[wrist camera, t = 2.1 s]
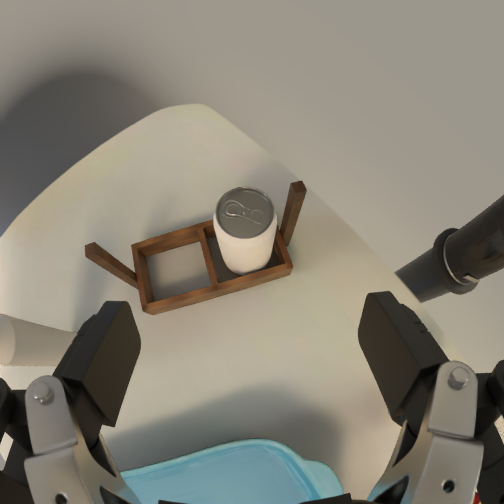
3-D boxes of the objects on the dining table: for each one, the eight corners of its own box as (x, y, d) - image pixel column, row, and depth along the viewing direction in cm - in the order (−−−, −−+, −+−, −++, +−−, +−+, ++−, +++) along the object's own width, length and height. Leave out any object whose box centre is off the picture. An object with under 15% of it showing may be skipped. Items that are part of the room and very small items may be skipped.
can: (232, 225, 39) (225, 176, 27) (276, 239, 38) (286, 193, 27) (215, 268, 37) (200, 231, 25) (262, 283, 36) (267, 252, 25)
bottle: (72, 367, 31) (-69, 355, 8) (68, 333, 33) (-70, 295, 9) (99, 366, 32) (-50, 357, 8) (94, 330, 33) (-51, 288, 10)
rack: (276, 213, 39) (287, 149, 26) (298, 272, 37) (324, 227, 23) (132, 255, 37) (83, 210, 24) (143, 317, 34) (89, 297, 21)
